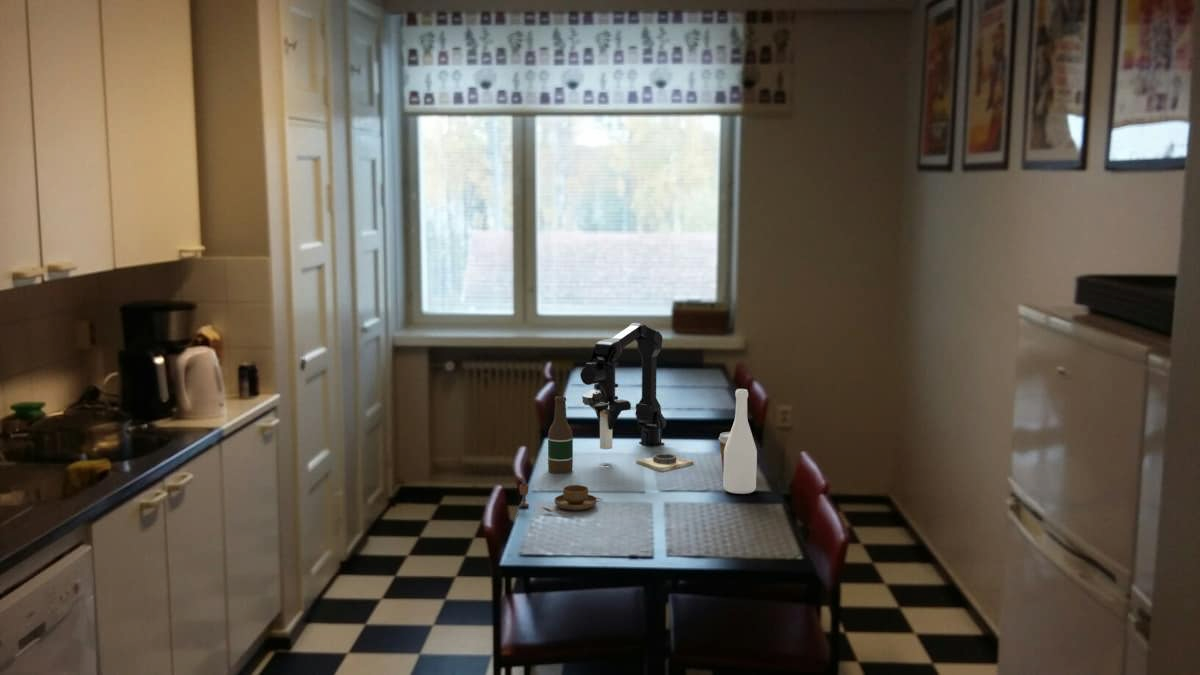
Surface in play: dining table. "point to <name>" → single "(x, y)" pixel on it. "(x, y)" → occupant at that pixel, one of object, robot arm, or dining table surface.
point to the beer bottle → (560, 441)
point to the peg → (605, 432)
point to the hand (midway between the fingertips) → (606, 428)
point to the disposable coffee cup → (723, 445)
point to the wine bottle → (740, 451)
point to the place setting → (567, 498)
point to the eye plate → (665, 466)
